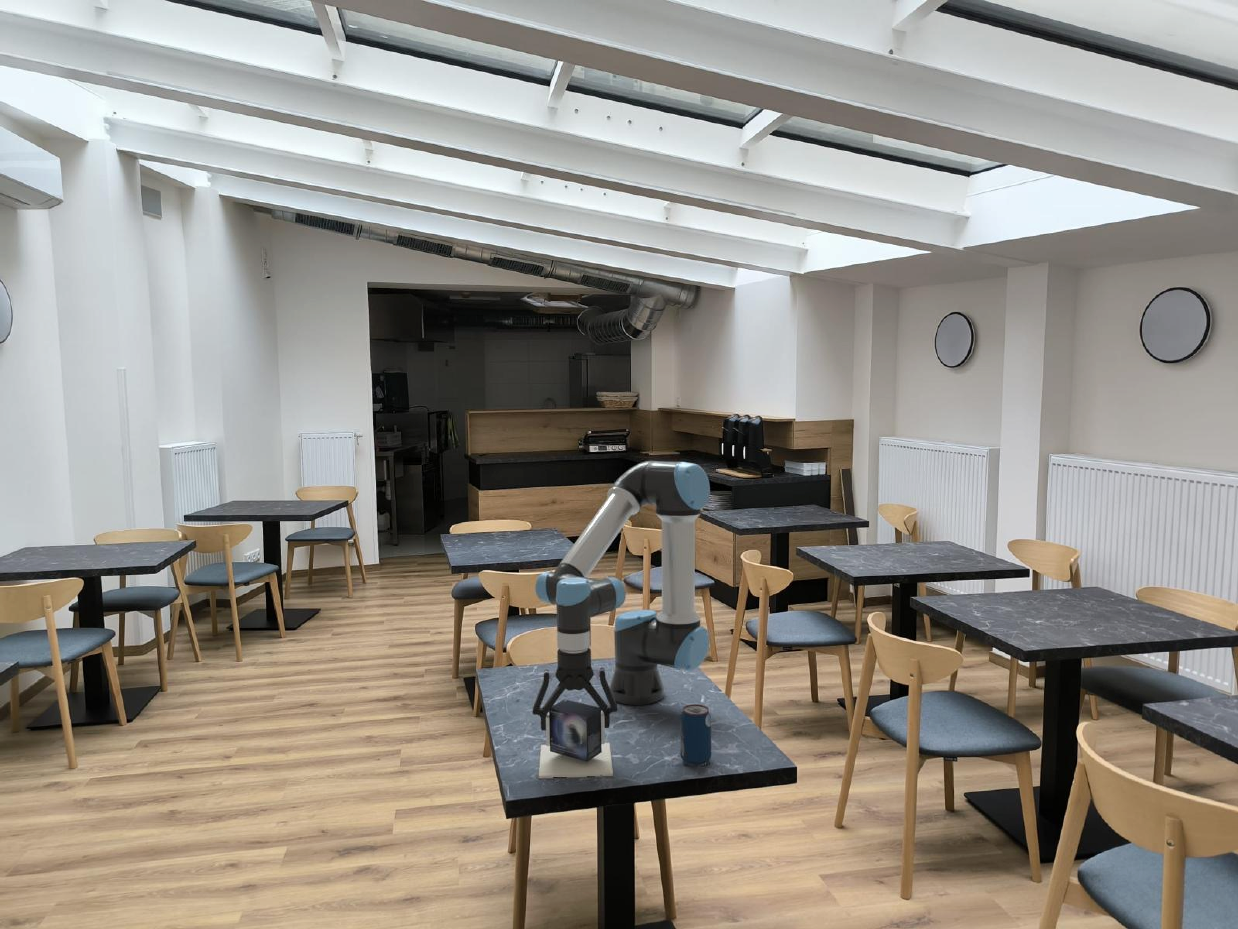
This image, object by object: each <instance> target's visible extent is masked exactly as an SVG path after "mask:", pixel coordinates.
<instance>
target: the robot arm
mask: <svg viewBox="0 0 1238 929" xmlns="http://www.w3.org/2000/svg"><path fill="white" fill-rule="evenodd" d="M710 486H711V485H710V480H709V477H708V475H707V473H706V471H704V469H703V467H701V465H699V464H696V463H692V462H686V461H662V460H661V461H658V460H646V461H643V462H640V463H637V464H636V465H634V466H632V467H630V468H629V469H628V470H626V471H625V472H624V473H623V474H621V475H620V476H619V477H618V478H617V479H616V480H615V481H614V483H613V484H612V485H611V487H610V488H609V489H608V491H607V492H606V493H607V494H606V497H607V499H606V500H605V501H604V502H603V504H602V505H601V507H600V508H599V510H598V511H597V512H596V514H595V515H594V516H593V518H592V519H591V520H590V521H589V523H588V525H587V526H586V527H585V529H584V530H583V531H582V533H581V534H580V535H579V537H578V538H577V540H576V541H575V543H573V545H572V546H571V548H570V549H569V551H568V552H567V553H566V555H565V556H564V557H563V559H562V560H561V561H560V563H559V565H558V566H557V567H556V568H555V569H554V571H552V570H551V571H550V570H549V571H544V572H542V573H540V574H539V575H538V577H537V580H536V582H535V586H534V587H535V588H534V589H535V594H536V596H537V598H538V600H540V601H541V602H544V603H548V604H550V605H553V606H556V607H555V608H556V646H557V648H558V649H557V652H556V656H557V658H556V659H557V668H556V670H555V671H553V670H551V671H550V670H548V669H545V670H544V671H543V681H542V684H541V686H540V688H539V692H538V693H537V696H536V699H535V701H534V704H533V706H532V713H531V714H533V715H534V716H535V715H537V716H539V717H540V729H541V731H545V738H546V739H545V740H546V741H545V742H546V743H545V745H546V746H550V721H549V711H550V709H551V708H552V706H553V705H555V704H556V703H557V701H558V699H559V698H560V696H561V695H562V694H563V692H564V691H565V690H566V691H568V692H569V691H574V690H576V691H582V690H583V689H584V690H585V691H586V693H587V694H588V695H589V696H590V697H591V698H592V700H594V702H595V703H596V705H597V707H600V709H601V744H605V743H606V736H605V735H606V734H605V733H606V732H605V731H606V729H609V728H610V727H611V726H610V724H611V722H610V718H611V717H610V715H611V714H612V713H616V712H618V703H619V704H624V705H630V706H631V705H633V706H643V705H648V704H653V703H657V702H659V701H661V700H662V699H664V698H665V697H664V696H665V686H664V683H663V679H662V677H661V674H660V671H659V669H658V666H659V665H661V666H664V667H669V668H672V669H676V670H679V671H681V670H682V671H688V672H689V671H695V670H696V669H698V668H699V667H700V666H701V665H702V663H703V662H704V660H705V659H706V657H707V655H708V652H709V648H710V644H711V643H710V642H711V641H710V639H711V638H710V634H709V631H708V629H707V628H705V627H704V626H701V616H700V614H698V613H697V612H696V609H695V607H696V606H695V604H696V603H695V601H696V596H695V593H696V590H695V588H696V587H695V586H696V585H695V580H696V579H695V578H696V577H695V576H696V574H695V572H696V571H695V568H696V567H695V565H696V564H695V563H696V562H695V560H696V559H695V557H696V555H695V554H696V553H695V548H696V546H695V545H696V544H695V543H696V542H695V541H696V540H695V539H696V537H695V536H696V531H695V530H696V520H697V518H699V517H700V516H701V512H702V511H701V509H704V508H705V507H706V505H708V503H709V500H708V499H710V496H711V487H710ZM648 505H650V506H655V515H656V516H657V518H659V519H660V521H661V611H659V613H658V612H657V611H655V610H652V609H638V610H631V611H627V612H624V613H623V612H622V613H620V614H618V615H617V616H616V618H615V620H614V629H613V633H614V634H613V635H614V670H613V673H612V676H611V680H610V683H608V681H607V678H606V670H605V668H604V667H600V668H599V669H593V668H592V649H591V646H592V638H591V637H592V635H591V634H592V631H591V625H592V624H591V623H592V622H591V621H592V620H591V618H593V617H596V616H599V615H602V614H605V613H608V612H613V611H614V610H616V609H618V608H620V607H622V606H623V605H624V603H625V601H626V598H627V596H626V595H627V593H626V588H625V585H624V584H623V582H622V581H621V580H620V579H619V578H616V577H613V576H612V577H603V578H601V579H597V578H596V579H595V578H590V577H589V576H590V574H591V573H592V572H593V570H594V569H595V567H596V566H597V564H598V562H599V561H600V560H601V559H602V557H603V556H604V554H605V553H606V551H607V550H608V549H609V547H610V546H611V545H612V543H613V541H614V540H615V539H616V538H617V536H618V534H619V533H620V532H621V530H622V529H623V527H624V526H625V525H626V523H627V522H628V520H629V519H630V517H631V516H634V515H636V514H637V513H638V512H640V510H641V509H642V508H643V507H644V506H648ZM593 677H595V679H596V680H598V681H599V682H600V685H601V687H602V689H603V692H604V694H605V696H606V700H607V701H608V703H609V705H608V704H607V703H606V702H605V701H604V699H603V698H602V696H601V695H600V694H599V693H598V692H597V690H596V689H595V687H594V686H593V684H592V682H590V681H591V680H592V678H593ZM554 678H556V679H557V681H558V684H557V685H556V688H555V689H554V690H553V692H552V693H551V695H550V696H549V698H548V699H547V701H546V702H545V703H544V705H543V706H542V707H541V705H542V703H543V700H544V698H545V696H546V693H547V690H548V688H549V684H550V682H552V681H553V680H554Z"/></svg>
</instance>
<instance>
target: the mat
mask: <svg viewBox="0 0 1238 929" xmlns="http://www.w3.org/2000/svg"><path fill="white" fill-rule="evenodd" d="M610 745H611V744H610V742H605V744H601V746H602V752H601V753H600V754H598V755H597V756H595V757H594V758H592V759H591V760H589V761H588V762H585V761H582V760H579V759H575V758H572V757H568V756H565V755H561V754H558V753H554V752H551V751H550V746H546V744H541V745H540V753H539V754H540V755H539V768H538V769H539V770H538V779H539V778H540V779H554V778H553V777H567V778H586V777H587V776H595V777H613V776H614V770H613V763H612V755H611V753H612V752H611V746H610ZM600 775H602V776H600ZM587 778H588V777H587Z"/></svg>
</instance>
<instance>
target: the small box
mask: <svg viewBox="0 0 1238 929" xmlns="http://www.w3.org/2000/svg"><path fill="white" fill-rule="evenodd" d="M601 711H602V710H601V709H600V707H599V706H596V705H590V704H586V703H581V702H578V701H574V700H569V699H566V698H565V699H562V700H560V701H559V702H556V703H554V705H553V706H552V708H551V709H550V711H549V712H548V713H549V721H550V751H551V752H554V753H558V754H561V755H565V756H568V757H572V758H575V759H579V760H582V761H585V762H588V761H589V760H591V759H592V758H594V757H595V756H597V755H598V754H600V753H601V752H602V746H601Z"/></svg>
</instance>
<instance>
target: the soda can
mask: <svg viewBox="0 0 1238 929" xmlns="http://www.w3.org/2000/svg"><path fill="white" fill-rule="evenodd" d="M679 719H680V722H679V727H680V728H679V729H680V730H679V731H680V732H679V733H680V734H679V737H680V738H679V742H680V745H679V746H680V750H679V752H680V754H679V755H680V758H681V759H682V761H683V763H684V762H685V763H684V764H686V763H687V764H690V765H702V764H705V763H707V762H708V763H709V761H710V760H711V758H712V715H711V713H710V710H709V708H708V706H705V705H703V704H688V705H685V706H684V707H682V712H681V714H680V717H679ZM708 763H707V764H708ZM687 764H686V765H687ZM690 765H689V766H690ZM705 765H706V764H705Z"/></svg>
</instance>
